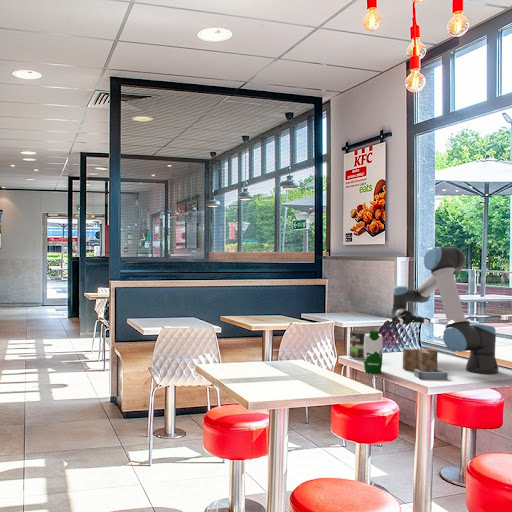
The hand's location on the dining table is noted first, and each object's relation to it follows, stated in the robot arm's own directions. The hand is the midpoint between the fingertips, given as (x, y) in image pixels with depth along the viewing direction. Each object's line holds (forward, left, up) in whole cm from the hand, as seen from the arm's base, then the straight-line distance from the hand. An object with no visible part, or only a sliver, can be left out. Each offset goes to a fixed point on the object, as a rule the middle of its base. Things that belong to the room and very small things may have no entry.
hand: (415, 323), depth 314 cm
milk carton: (+25, +18, -22) cm, 38 cm away
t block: (0, +14, -22) cm, 26 cm away
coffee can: (+25, -20, -22) cm, 39 cm away
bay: (0, +28, -22) cm, 35 cm away
